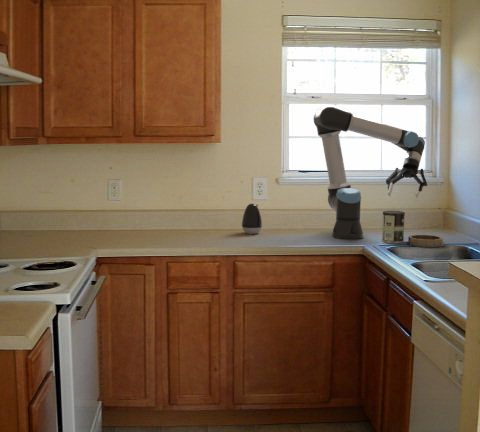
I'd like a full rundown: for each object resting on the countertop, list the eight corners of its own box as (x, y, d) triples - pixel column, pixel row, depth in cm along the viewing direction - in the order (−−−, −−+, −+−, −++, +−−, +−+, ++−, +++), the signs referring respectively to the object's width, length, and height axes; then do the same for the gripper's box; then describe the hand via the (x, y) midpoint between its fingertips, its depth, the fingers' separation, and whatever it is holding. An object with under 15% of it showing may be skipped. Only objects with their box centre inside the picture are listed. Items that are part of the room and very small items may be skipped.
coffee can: (403, 240, 322) (404, 210, 320) (404, 243, 312) (405, 213, 310) (381, 239, 324) (382, 210, 322) (381, 242, 314) (382, 213, 312)
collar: (402, 245, 307) (402, 238, 307) (412, 240, 322) (412, 233, 322) (439, 249, 299) (439, 241, 299) (448, 243, 314) (448, 236, 313)
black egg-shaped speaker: (265, 232, 340) (266, 203, 338) (255, 235, 331) (255, 205, 329) (248, 231, 346) (249, 201, 344) (237, 233, 337) (238, 203, 335)
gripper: (438, 168, 333) (429, 201, 322) (389, 166, 345) (379, 198, 334) (436, 158, 328) (427, 191, 317) (386, 157, 340) (376, 189, 329)
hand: (402, 195), depth 326 cm, fingers open, 13 cm apart
